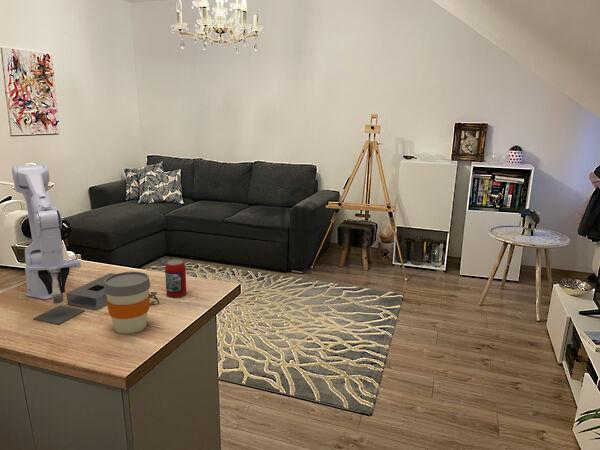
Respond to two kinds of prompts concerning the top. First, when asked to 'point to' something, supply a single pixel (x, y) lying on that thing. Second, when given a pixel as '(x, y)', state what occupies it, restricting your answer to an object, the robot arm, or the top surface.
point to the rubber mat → (59, 315)
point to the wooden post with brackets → (153, 298)
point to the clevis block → (89, 295)
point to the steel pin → (56, 287)
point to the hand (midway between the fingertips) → (56, 292)
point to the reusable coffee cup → (128, 300)
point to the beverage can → (175, 278)
